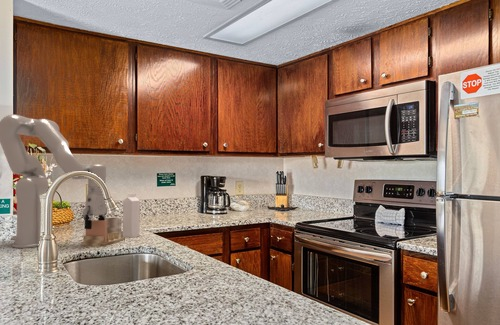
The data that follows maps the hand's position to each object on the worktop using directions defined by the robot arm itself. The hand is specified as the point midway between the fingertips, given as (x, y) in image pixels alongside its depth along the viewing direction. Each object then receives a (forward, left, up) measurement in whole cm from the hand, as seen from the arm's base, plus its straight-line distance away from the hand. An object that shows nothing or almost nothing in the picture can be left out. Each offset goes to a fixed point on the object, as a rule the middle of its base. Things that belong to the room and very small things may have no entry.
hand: (94, 227), depth 180 cm
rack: (+1, +6, -8) cm, 10 cm away
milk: (+5, +24, -8) cm, 26 cm away
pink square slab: (+1, 0, -7) cm, 7 cm away
